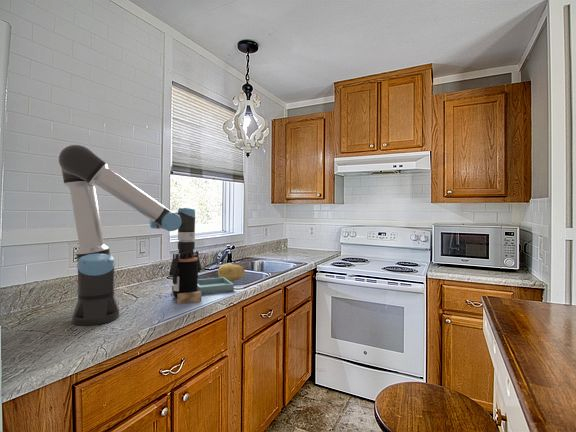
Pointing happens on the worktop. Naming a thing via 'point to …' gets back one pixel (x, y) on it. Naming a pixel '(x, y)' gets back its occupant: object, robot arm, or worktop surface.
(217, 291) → the bin
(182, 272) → the coffee jar
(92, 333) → the worktop surface
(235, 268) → the potato
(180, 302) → the oak cradle
